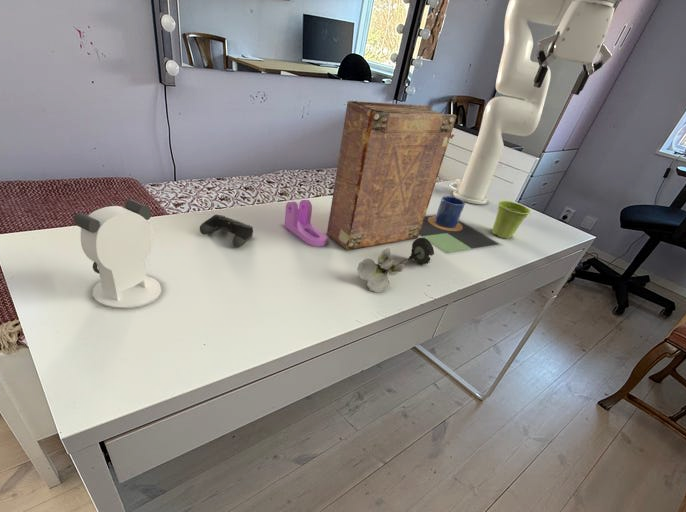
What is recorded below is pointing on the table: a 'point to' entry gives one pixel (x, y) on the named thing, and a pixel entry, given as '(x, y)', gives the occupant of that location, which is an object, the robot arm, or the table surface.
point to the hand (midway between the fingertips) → (555, 90)
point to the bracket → (303, 223)
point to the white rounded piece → (120, 254)
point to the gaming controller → (228, 228)
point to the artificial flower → (392, 265)
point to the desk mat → (453, 236)
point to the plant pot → (509, 218)
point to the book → (386, 172)
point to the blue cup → (449, 212)
